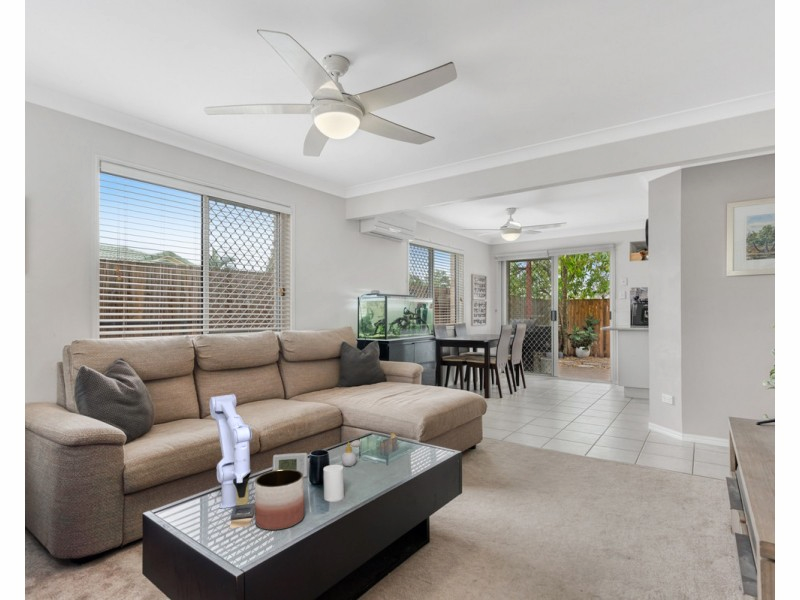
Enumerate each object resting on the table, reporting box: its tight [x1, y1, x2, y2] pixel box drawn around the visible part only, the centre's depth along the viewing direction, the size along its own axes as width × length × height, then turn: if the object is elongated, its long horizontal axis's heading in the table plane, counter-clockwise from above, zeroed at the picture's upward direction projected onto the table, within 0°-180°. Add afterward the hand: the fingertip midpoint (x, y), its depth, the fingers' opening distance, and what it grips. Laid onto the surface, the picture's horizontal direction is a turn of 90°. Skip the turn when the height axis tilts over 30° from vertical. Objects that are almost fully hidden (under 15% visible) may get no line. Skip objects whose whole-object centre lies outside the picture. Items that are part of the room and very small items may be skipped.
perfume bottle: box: [341, 439, 362, 467], centre depth 220 cm, size 8×10×12 cm
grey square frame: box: [230, 502, 255, 522], centre depth 169 cm, size 9×8×2 cm
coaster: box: [229, 518, 252, 529], centre depth 161 cm, size 5×7×1 cm
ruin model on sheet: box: [379, 432, 399, 457], centre depth 238 cm, size 11×3×10 cm, turn 141°
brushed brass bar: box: [236, 481, 250, 505], centre depth 168 cm, size 4×4×7 cm
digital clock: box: [271, 452, 309, 479], centre depth 206 cm, size 16×9×11 cm, turn 86°
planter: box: [254, 469, 306, 531], centre depth 164 cm, size 18×18×16 cm
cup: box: [323, 464, 345, 502], centre depth 182 cm, size 8×8×12 cm
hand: (242, 494), depth 168 cm, fingers closed on brushed brass bar, 4 cm apart
